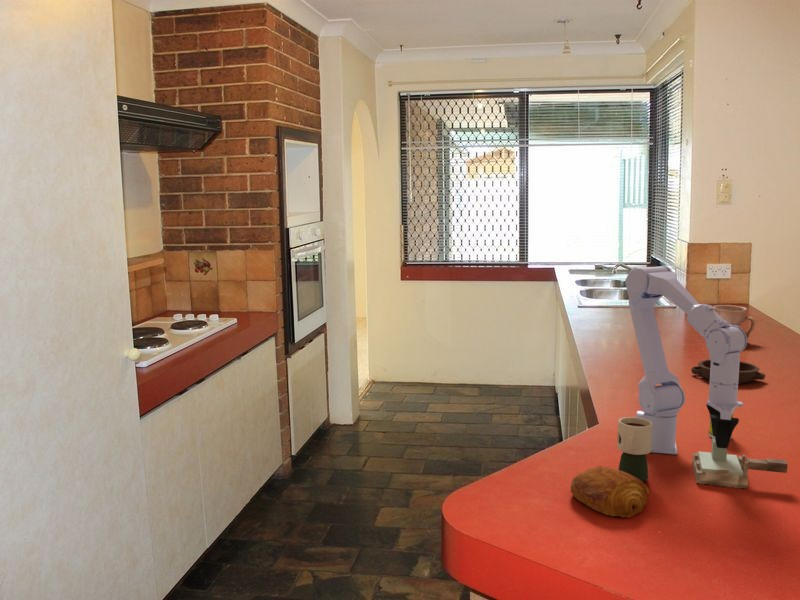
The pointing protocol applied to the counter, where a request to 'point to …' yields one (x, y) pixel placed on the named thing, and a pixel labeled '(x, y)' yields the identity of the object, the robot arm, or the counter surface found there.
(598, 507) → the croissant
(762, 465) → the brown rectangular bar
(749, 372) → the dish
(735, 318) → the ceramic jug
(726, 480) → the box
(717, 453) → the lid
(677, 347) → the counter surface
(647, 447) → the character mug
